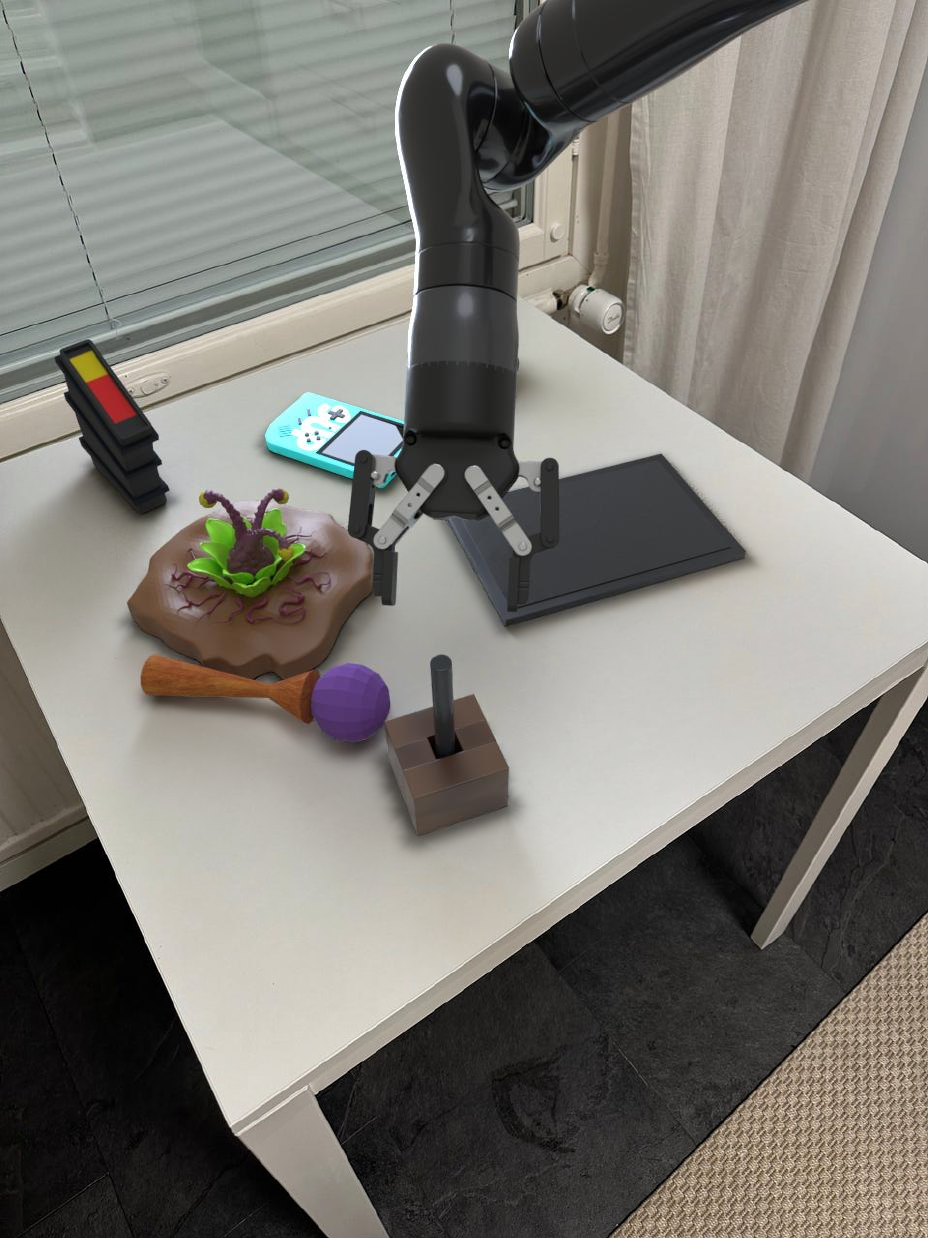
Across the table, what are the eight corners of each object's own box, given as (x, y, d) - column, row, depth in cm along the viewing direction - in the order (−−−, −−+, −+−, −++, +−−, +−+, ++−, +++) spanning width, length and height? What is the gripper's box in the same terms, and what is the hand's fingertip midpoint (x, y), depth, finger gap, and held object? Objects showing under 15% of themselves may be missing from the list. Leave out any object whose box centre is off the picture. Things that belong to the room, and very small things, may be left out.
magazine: (105, 426, 95) (91, 334, 82) (172, 521, 93) (169, 442, 80) (71, 440, 94) (52, 348, 80) (139, 537, 92) (131, 459, 78)
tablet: (660, 459, 93) (661, 452, 92) (744, 557, 83) (746, 550, 82) (443, 513, 87) (443, 506, 87) (505, 626, 77) (505, 619, 77)
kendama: (158, 622, 72) (394, 652, 67) (180, 672, 76) (404, 703, 71) (121, 677, 68) (369, 712, 63) (147, 726, 72) (381, 763, 67)
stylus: (452, 772, 67) (447, 651, 57) (459, 787, 66) (455, 667, 56) (435, 777, 67) (427, 657, 57) (441, 792, 66) (434, 673, 56)
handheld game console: (309, 399, 101) (308, 388, 100) (432, 437, 96) (431, 426, 95) (256, 446, 95) (253, 436, 94) (383, 489, 90) (382, 479, 89)
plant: (228, 498, 89) (203, 403, 81) (403, 551, 84) (394, 454, 76) (98, 636, 77) (52, 540, 69) (292, 707, 72) (267, 613, 63)
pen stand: (474, 732, 70) (473, 693, 66) (508, 806, 65) (509, 768, 62) (388, 759, 68) (383, 720, 64) (417, 836, 64) (413, 799, 60)
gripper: (347, 352, 57) (336, 605, 58) (570, 359, 56) (556, 616, 57) (367, 379, 65) (358, 602, 65) (565, 385, 64) (552, 612, 64)
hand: (450, 608), depth 61 cm, fingers open, 8 cm apart
